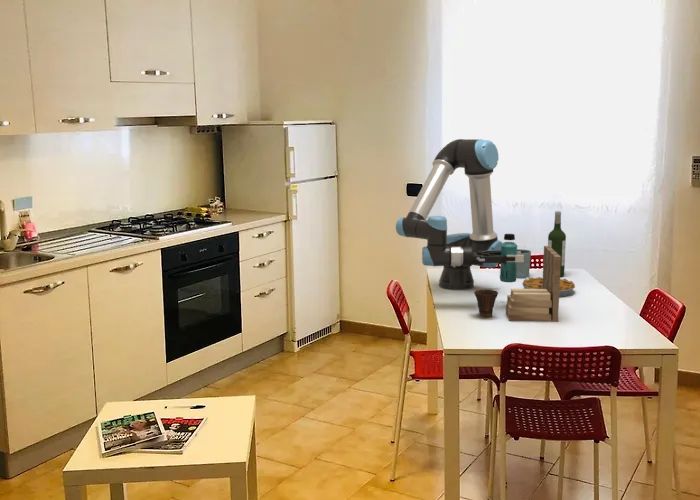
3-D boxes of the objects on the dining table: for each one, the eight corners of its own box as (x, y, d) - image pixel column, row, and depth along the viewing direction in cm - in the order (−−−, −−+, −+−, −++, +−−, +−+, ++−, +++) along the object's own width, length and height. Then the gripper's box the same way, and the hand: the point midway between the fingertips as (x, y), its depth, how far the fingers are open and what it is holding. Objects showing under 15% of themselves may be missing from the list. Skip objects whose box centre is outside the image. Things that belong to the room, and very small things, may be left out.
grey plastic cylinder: (532, 278, 341) (533, 253, 338) (510, 278, 341) (510, 253, 339) (527, 274, 351) (528, 248, 348) (505, 274, 351) (506, 249, 349)
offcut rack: (501, 305, 295) (503, 245, 290) (546, 305, 294) (549, 245, 289) (509, 320, 273) (511, 256, 269) (558, 321, 272) (560, 256, 267)
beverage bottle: (517, 283, 293) (519, 232, 289) (515, 287, 287) (517, 235, 283) (500, 282, 295) (502, 232, 291) (498, 285, 289) (499, 234, 285)
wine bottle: (545, 273, 351) (548, 210, 345) (562, 274, 350) (565, 210, 344) (547, 277, 343) (550, 212, 338) (565, 277, 342) (568, 212, 337)
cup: (484, 319, 273) (483, 292, 272) (469, 317, 281) (469, 290, 280) (503, 317, 277) (503, 290, 276) (488, 314, 285) (488, 288, 284)
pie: (524, 284, 330) (525, 273, 330) (576, 288, 323) (576, 276, 322) (518, 296, 310) (519, 284, 309) (573, 300, 303) (574, 288, 302)
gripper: (459, 261, 300) (517, 261, 299) (463, 271, 281) (525, 271, 280) (460, 242, 299) (518, 242, 297) (464, 251, 280) (526, 251, 279)
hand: (522, 256), depth 289 cm, fingers closed on beverage bottle, 6 cm apart
